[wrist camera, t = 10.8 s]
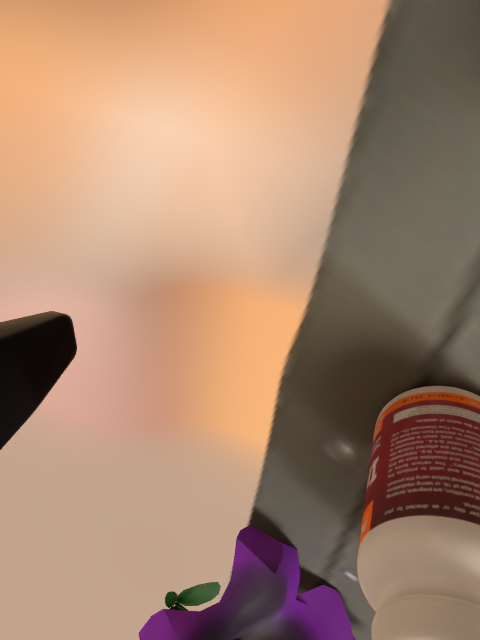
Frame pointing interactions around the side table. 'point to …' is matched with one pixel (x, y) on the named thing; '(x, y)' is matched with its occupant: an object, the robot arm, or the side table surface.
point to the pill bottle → (424, 517)
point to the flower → (254, 601)
